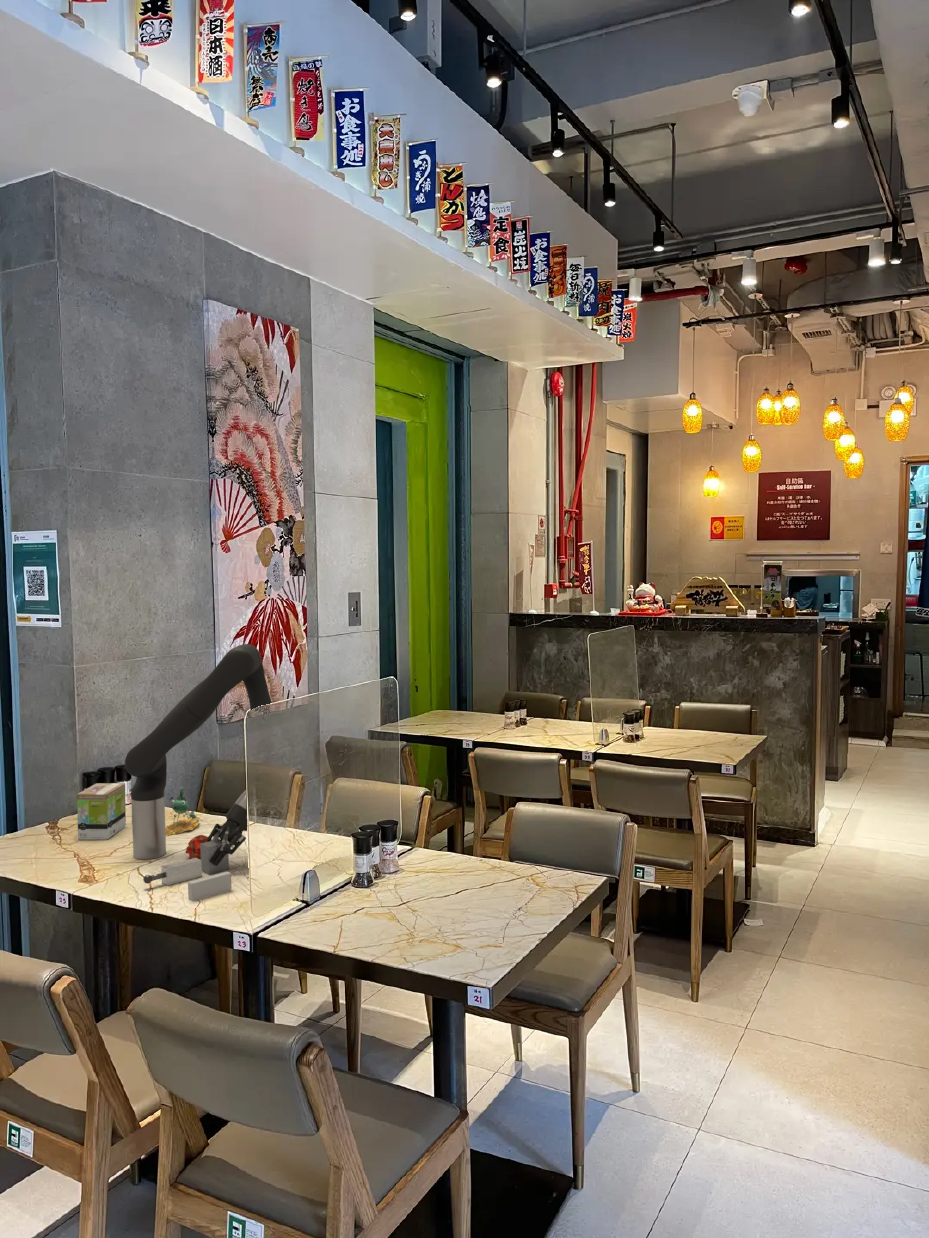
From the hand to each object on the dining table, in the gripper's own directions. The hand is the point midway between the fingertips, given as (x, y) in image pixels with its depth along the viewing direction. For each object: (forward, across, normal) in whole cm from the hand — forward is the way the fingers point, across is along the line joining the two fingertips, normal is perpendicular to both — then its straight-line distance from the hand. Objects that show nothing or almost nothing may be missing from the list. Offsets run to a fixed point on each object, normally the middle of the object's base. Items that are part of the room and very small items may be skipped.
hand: (208, 861), depth 258 cm
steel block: (+2, 0, +4) cm, 5 cm away
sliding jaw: (+10, +1, -6) cm, 11 cm away
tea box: (+6, -62, 0) cm, 62 cm away
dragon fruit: (0, -12, +6) cm, 14 cm away
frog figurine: (-9, -48, +15) cm, 51 cm away
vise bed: (+9, +6, -3) cm, 11 cm away
